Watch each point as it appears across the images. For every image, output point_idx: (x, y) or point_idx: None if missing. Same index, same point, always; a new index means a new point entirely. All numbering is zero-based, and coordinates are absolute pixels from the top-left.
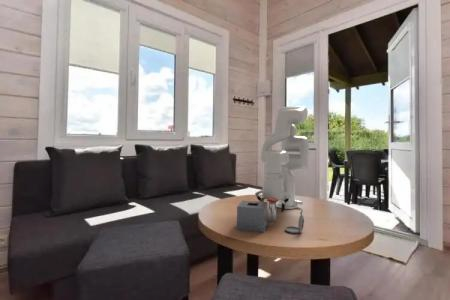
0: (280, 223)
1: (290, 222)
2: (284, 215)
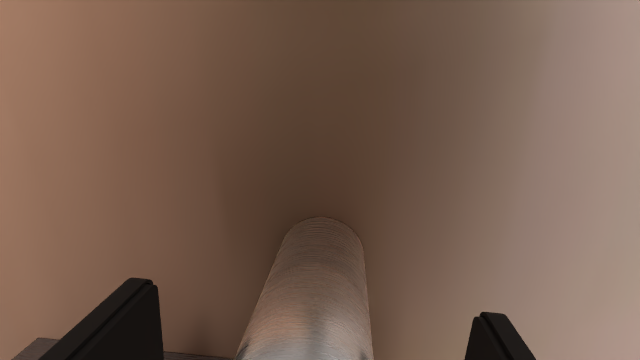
0: (407, 334)
1: (526, 289)
2: (500, 4)
